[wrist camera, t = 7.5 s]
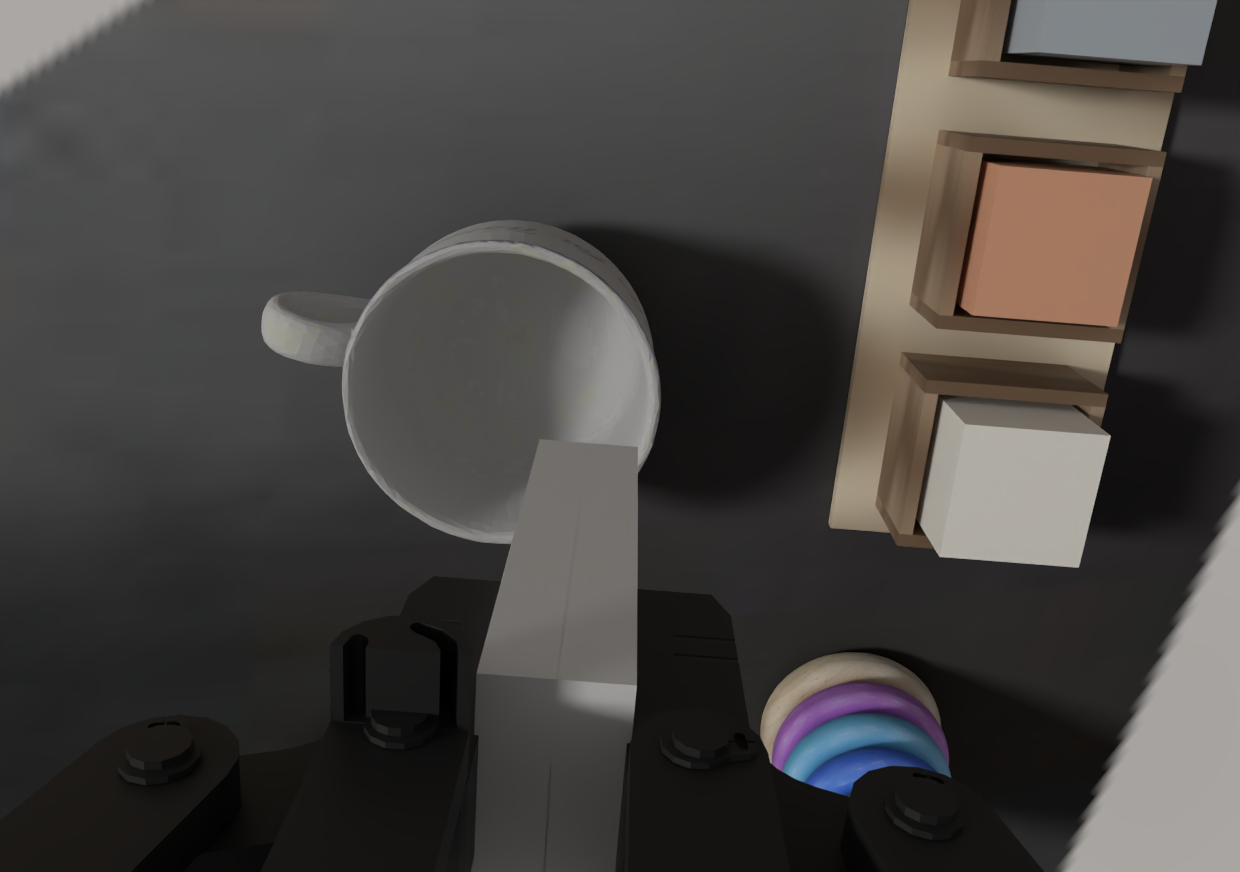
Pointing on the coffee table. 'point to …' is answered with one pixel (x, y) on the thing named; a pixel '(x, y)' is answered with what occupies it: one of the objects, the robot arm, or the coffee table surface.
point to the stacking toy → (852, 721)
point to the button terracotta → (1051, 241)
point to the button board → (937, 234)
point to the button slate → (1111, 30)
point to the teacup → (481, 367)
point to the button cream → (1010, 480)
